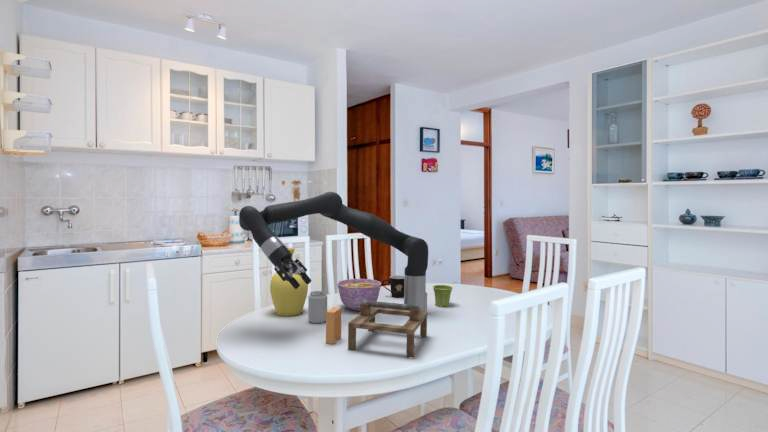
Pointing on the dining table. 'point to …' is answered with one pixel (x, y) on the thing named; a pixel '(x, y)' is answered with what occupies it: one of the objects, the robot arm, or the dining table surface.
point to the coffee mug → (396, 286)
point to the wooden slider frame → (368, 320)
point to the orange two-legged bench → (333, 325)
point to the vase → (288, 294)
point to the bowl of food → (358, 291)
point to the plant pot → (442, 294)
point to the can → (317, 307)
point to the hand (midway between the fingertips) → (304, 285)
